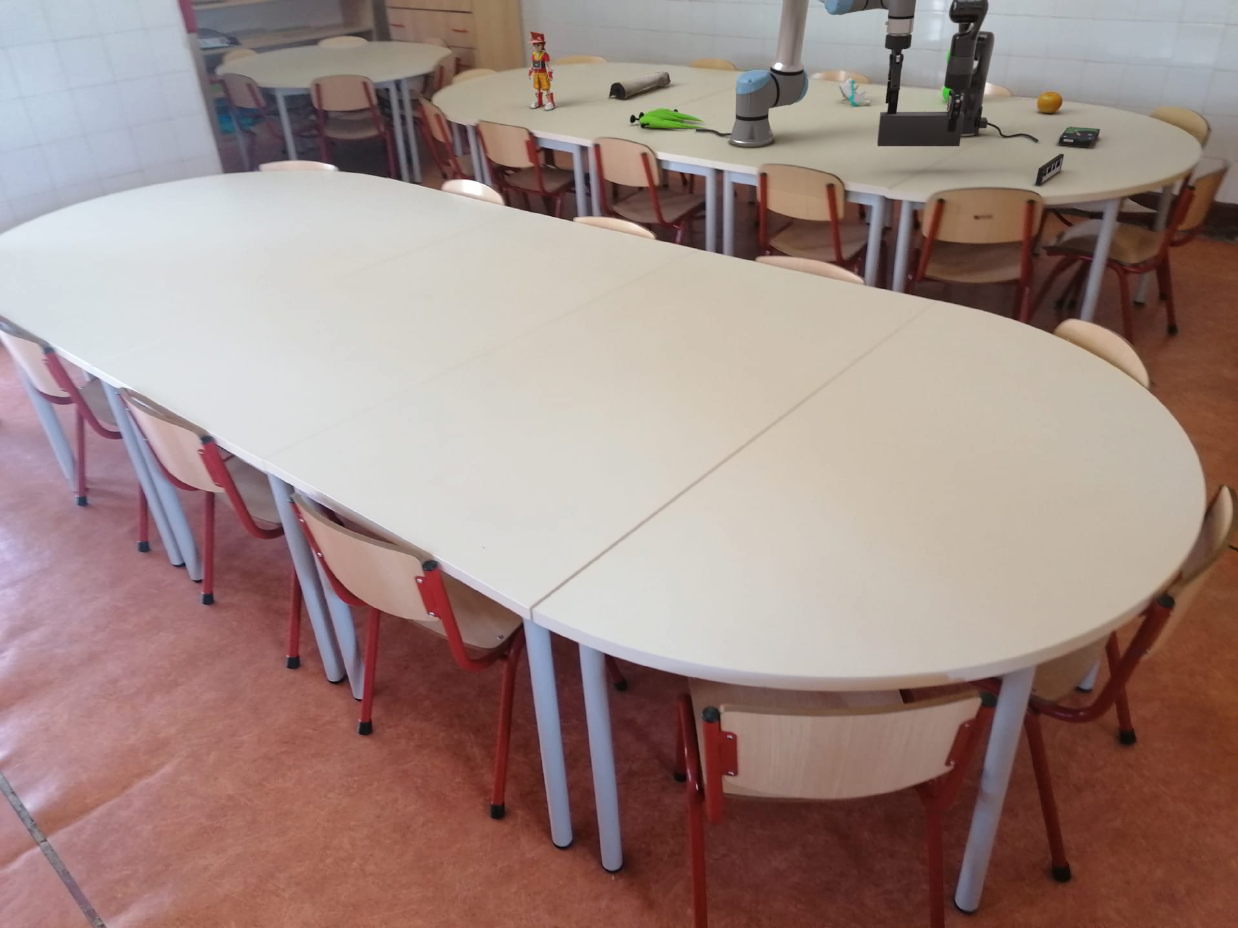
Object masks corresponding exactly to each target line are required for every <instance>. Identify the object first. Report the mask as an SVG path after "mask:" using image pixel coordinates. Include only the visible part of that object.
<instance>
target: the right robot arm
mask: <svg viewBox="0 0 1238 928" xmlns="http://www.w3.org/2000/svg"><path fill="white" fill-rule="evenodd" d="M989 6H990V3H989V0H952V1H951V3H950V7H949V9H948V17H949V20H950V22H952V23H953V24H957V25H958V32H954V34H952V37H951V40H950V41H951V42H950V47H949V50H950V54H949V59H948V63H947V62H946V68H945V69H946V70H945V77H944V84H943V86H944V87H945V88H947V89H951V90H949V93H948V102H947V104H946V106H947V107H946V112H950V116H949V125H948V132H955V130H956V123H957V119H959V114H960V112H963V113H964V120H963V127H962V133H961V137H973V136H979V131H980V129H987V128H988V126H990V127H992V128H994V129H996V130H997V131H998V133H999V135H1000V137H1002V138H1006V139H1007V138H1015V137H1020V136H1021V137H1027V138H1030V139H1031V140H1033V141H1034V142H1036V143H1037V142H1039V139H1037V138H1036V137H1034V136H1033V135H1031V134H1029V133H1014V134H1010V135H1009V134H1008V135H1005V134H1003V132H1002V130H1001V128H1000V127H999V126H997V125H996V124H994V123H992V122H988V119H987V117H986V116H983V117H982V115H983V109H984V107H983V102H984V96H985V90H986V83H987V79H988V74H989V70H990V66H991V65H990V64H991V59H992V55H993V52H994V47H995V39H996V38H995V34H994V32H993V31H989V30H988V31H987V30H981V28H982V26H983V24H984V21H985V19H986V17H987V14H988V11H989V8H990V7H989ZM975 62H977V64H976V66H975V67H974V65H975ZM944 87H943V88H944ZM953 112H957V113H956V114H953Z"/></svg>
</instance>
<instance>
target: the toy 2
mask: <svg viewBox="0 0 1238 928" xmlns="http://www.w3.org/2000/svg"><path fill="white" fill-rule="evenodd" d="M636 121H638V123H639V125H640V128H641V129H645V128H653V129H657V128H661V129H705V127H704V126H699V125H694V124H687V123H683V121H693V122H705V121H704V120H702V119H700V118H698V117H695V116H692V115H689V114H685V113H682V112H679V110H678V109H677V108H674V109H673V110H671V109H668V108H664V107H663V108H657V109H653V110H649V111H647V112H646V113H644V112H643V111H640V112H639V115H638V117H636V115H635V114H631V115H630V118H629V123H630V124H634V123H635V122H636Z"/></svg>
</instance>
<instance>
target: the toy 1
mask: <svg viewBox="0 0 1238 928" xmlns="http://www.w3.org/2000/svg"><path fill="white" fill-rule="evenodd" d="M529 33H530V35H531V36H528V37H527V38H528V39H529V40H528V41H527V43H529V44H530V43H531V44H532V48H533V50H534V51H533V52H532V55H531V58H530V59H531V63H530V66H528V74H527V75H528V76H527V77H528V79H529V80H531V75H532V74H533V84H532V85H533V86H532V87H533V88H534V89H535V90H536V92H534V95H535V97H536V100H535V101H533V102H531V105H530V108H531V109H535V108H538V107H542V106H544V101H543V100H544V99H543V95H544V92H546V94H545V97H546V99H547V103H546V104H545V106H544V110H546V111H549V110H553V109H554V107H555V106H556V105H555V99H554V92H551V91H550V90H551V86H552V84H551V82H552V81H553V80H554V77H553V73H554V71H555V70H554V69H552V68H551V63H550V61H551V59H550V58H551V57H550V54H549V53H548V52H547V50H546V48H545V46H546V44H547V41H545V35H544V33H543V32H542V33H539V32H535V31H529Z"/></svg>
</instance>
